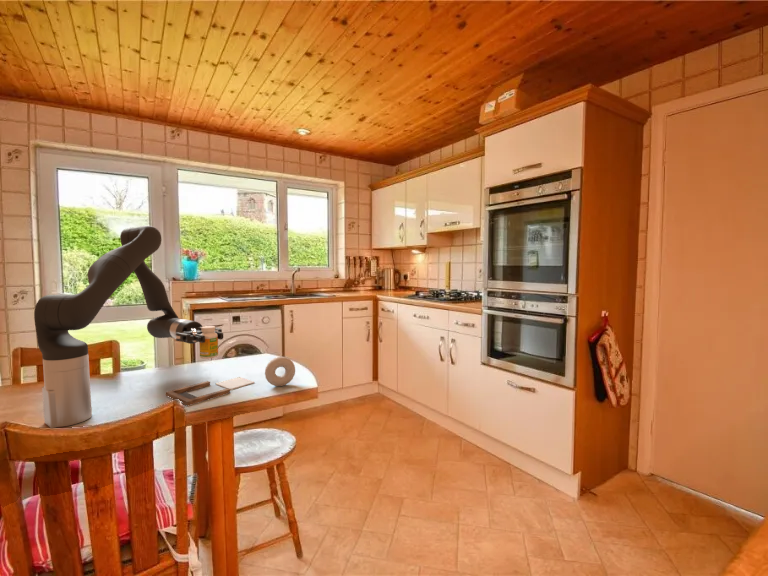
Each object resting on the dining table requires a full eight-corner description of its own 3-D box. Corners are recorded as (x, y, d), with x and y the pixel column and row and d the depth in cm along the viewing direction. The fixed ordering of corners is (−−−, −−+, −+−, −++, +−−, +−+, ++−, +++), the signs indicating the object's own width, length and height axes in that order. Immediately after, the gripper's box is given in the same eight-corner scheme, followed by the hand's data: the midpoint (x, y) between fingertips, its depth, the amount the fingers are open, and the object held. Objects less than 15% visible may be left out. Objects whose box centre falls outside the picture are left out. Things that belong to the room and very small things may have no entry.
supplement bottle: (211, 359, 121) (210, 328, 120) (196, 358, 122) (195, 328, 121) (221, 355, 126) (221, 325, 125) (207, 354, 127) (206, 324, 126)
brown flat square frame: (187, 406, 112) (187, 401, 112) (165, 395, 120) (165, 391, 120) (230, 392, 123) (230, 389, 123) (207, 384, 131) (207, 380, 131)
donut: (266, 389, 126) (265, 359, 125) (264, 386, 129) (263, 357, 128) (296, 385, 130) (296, 356, 129) (294, 382, 133) (293, 354, 132)
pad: (230, 390, 125) (230, 388, 125) (215, 384, 131) (215, 383, 131) (254, 383, 132) (254, 381, 132) (239, 377, 138) (239, 376, 138)
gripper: (163, 322, 126) (190, 329, 116) (206, 317, 137) (233, 322, 127) (164, 345, 126) (190, 354, 116) (207, 338, 138) (234, 345, 128)
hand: (213, 337), depth 122 cm, fingers closed on supplement bottle, 5 cm apart
